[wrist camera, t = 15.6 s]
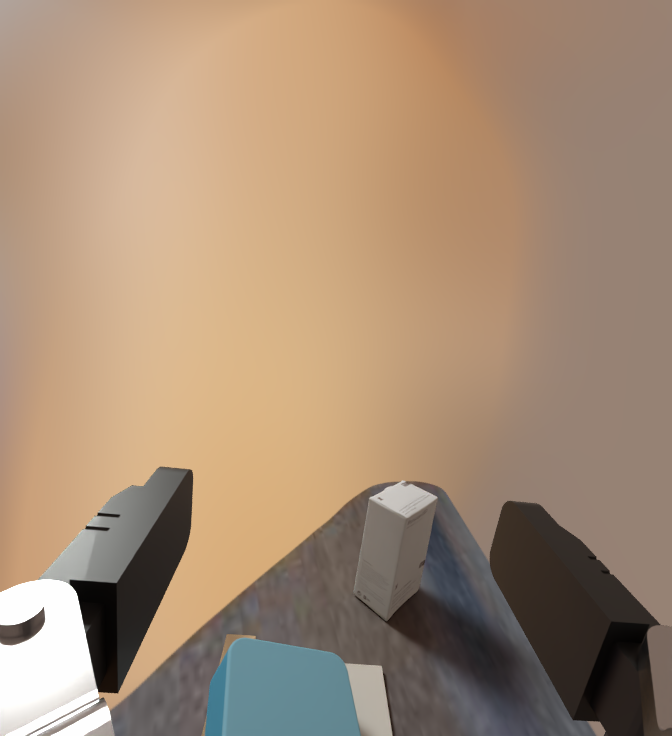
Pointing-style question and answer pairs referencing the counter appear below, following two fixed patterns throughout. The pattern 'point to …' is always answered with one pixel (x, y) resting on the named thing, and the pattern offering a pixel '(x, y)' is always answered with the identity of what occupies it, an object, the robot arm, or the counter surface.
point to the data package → (280, 692)
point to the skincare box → (394, 547)
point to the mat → (370, 699)
